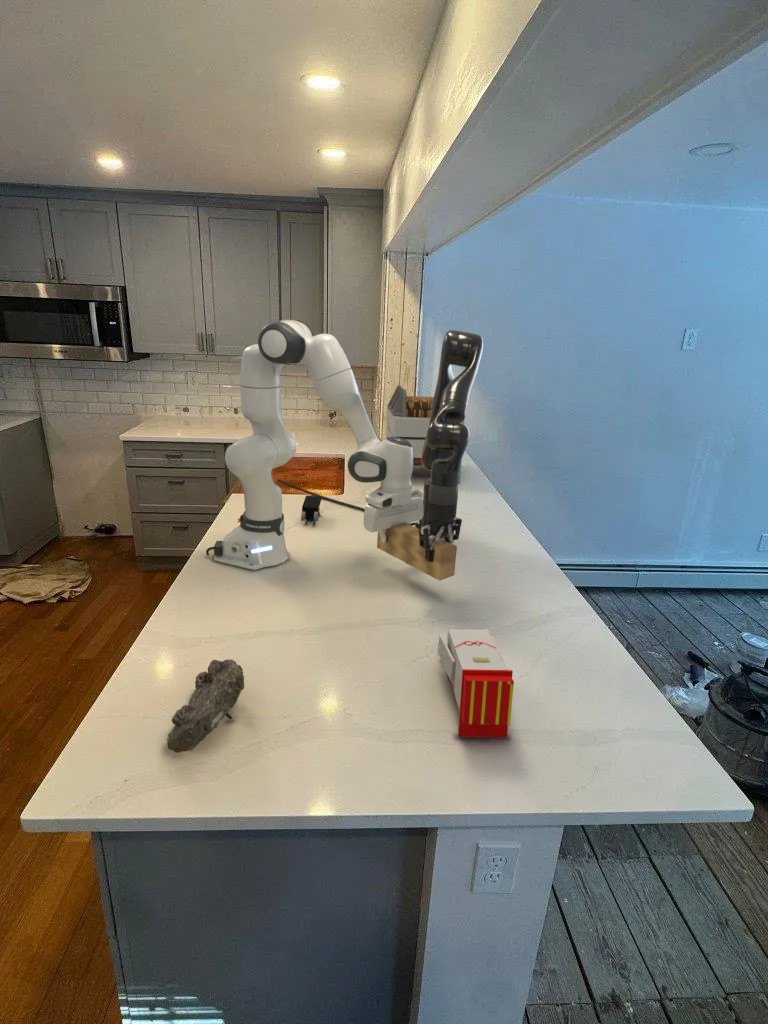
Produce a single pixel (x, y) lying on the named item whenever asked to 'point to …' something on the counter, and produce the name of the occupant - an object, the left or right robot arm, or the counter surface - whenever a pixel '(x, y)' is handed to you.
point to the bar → (419, 551)
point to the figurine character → (311, 509)
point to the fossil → (206, 705)
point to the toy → (478, 682)
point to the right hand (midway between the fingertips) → (438, 558)
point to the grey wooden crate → (410, 421)
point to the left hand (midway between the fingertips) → (393, 539)
